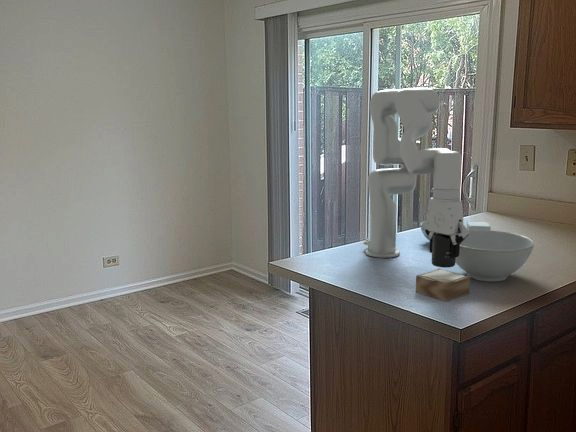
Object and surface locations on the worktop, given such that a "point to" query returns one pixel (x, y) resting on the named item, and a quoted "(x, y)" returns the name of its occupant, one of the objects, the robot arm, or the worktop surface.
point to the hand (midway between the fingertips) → (444, 254)
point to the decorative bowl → (493, 254)
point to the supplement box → (478, 226)
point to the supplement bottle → (442, 251)
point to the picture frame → (442, 284)
